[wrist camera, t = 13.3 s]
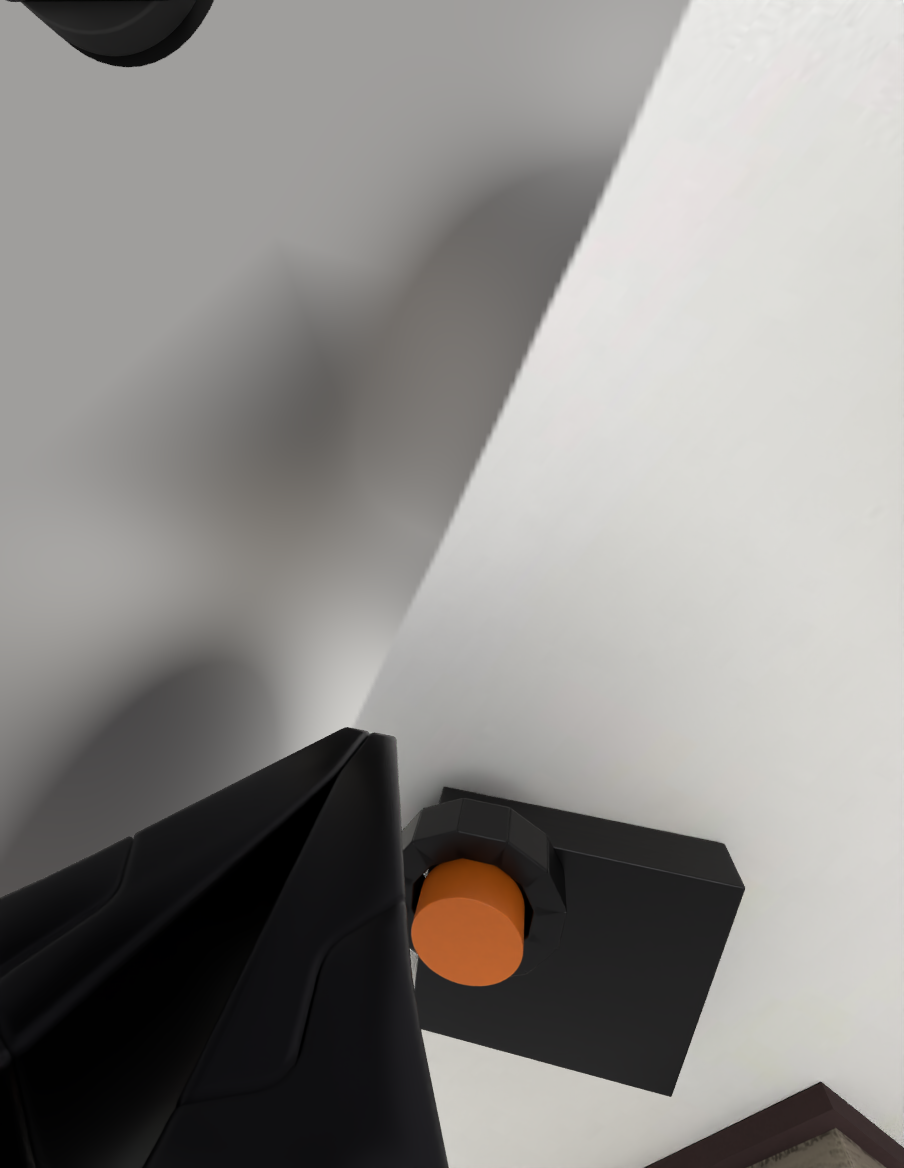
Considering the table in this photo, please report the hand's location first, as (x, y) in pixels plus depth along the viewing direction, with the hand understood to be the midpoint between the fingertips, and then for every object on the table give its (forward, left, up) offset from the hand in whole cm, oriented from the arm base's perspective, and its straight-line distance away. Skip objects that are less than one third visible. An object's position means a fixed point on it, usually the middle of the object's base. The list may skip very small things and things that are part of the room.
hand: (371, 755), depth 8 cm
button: (+2, -12, -8) cm, 15 cm away
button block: (+5, -15, -12) cm, 20 cm away
